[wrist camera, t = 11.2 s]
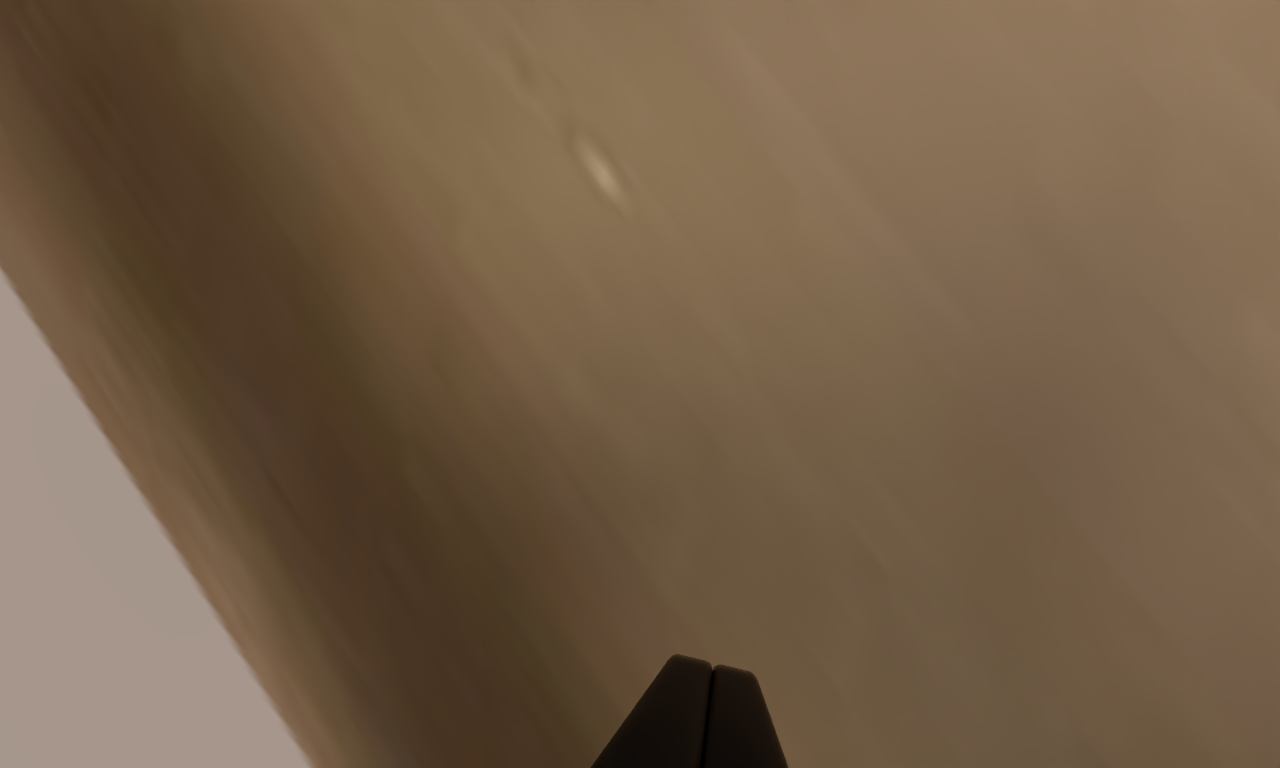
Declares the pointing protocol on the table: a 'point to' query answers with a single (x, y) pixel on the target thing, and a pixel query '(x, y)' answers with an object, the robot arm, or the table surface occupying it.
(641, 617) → the table surface
